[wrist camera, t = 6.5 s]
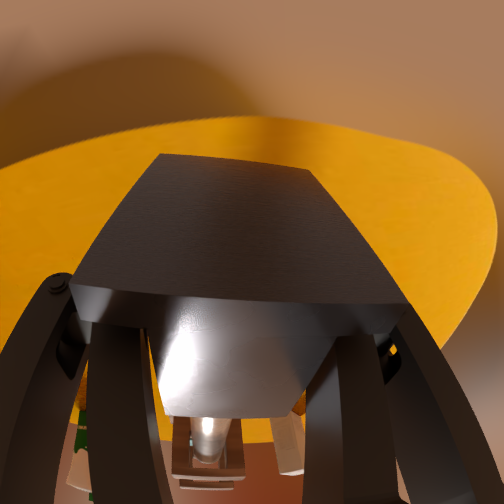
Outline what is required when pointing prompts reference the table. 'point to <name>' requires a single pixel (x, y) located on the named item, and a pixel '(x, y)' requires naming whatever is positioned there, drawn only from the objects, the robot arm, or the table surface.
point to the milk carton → (80, 459)
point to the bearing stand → (228, 468)
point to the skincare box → (289, 443)
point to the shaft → (233, 286)
